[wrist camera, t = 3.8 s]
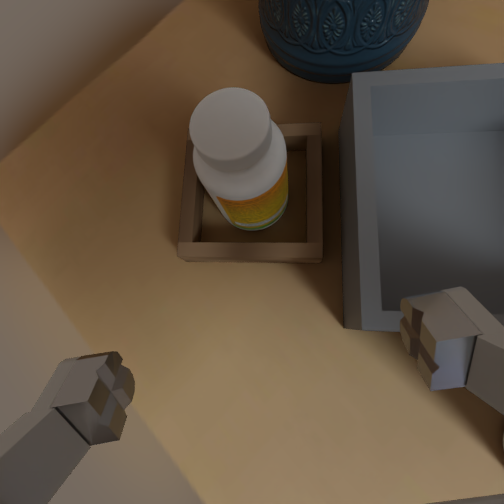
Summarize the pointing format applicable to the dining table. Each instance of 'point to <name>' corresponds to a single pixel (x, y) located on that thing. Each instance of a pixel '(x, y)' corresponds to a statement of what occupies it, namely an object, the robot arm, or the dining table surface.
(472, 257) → the bin
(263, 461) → the dining table surface
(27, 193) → the dining table surface
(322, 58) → the canister
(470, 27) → the dining table surface
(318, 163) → the socket collar
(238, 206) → the supplement bottle
